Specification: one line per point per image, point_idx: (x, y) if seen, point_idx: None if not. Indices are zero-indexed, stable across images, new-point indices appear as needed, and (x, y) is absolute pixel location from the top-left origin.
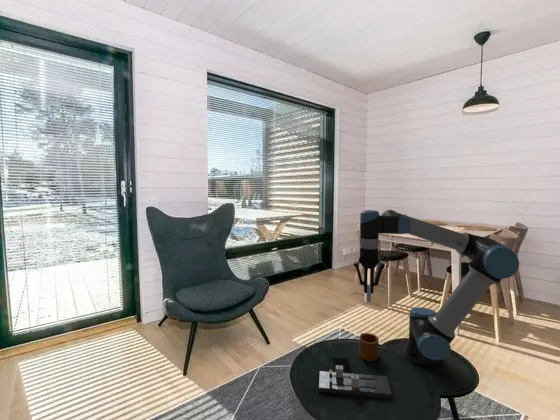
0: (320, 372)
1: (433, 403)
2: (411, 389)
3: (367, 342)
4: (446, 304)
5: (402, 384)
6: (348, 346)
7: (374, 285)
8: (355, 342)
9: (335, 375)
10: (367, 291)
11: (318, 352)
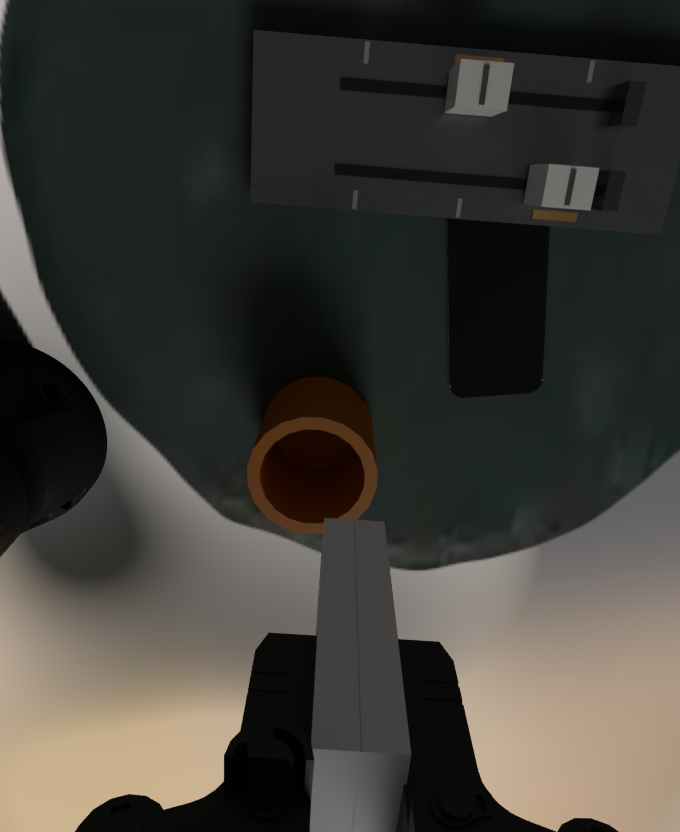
0: (660, 220)
1: (19, 7)
2: (124, 129)
3: (331, 429)
4: None
5: (168, 172)
6: (419, 502)
7: (198, 805)
8: None
9: None
10: (394, 653)
11: (610, 442)
